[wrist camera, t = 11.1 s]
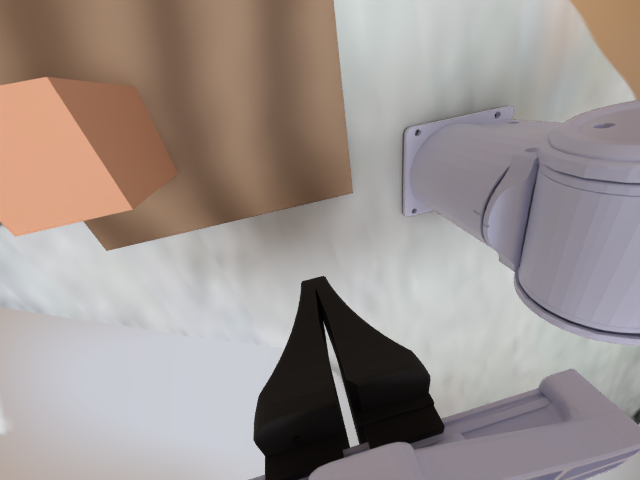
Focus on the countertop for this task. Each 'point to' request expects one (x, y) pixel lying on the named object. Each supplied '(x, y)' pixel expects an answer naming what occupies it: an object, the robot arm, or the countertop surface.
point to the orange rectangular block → (75, 153)
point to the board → (203, 98)
